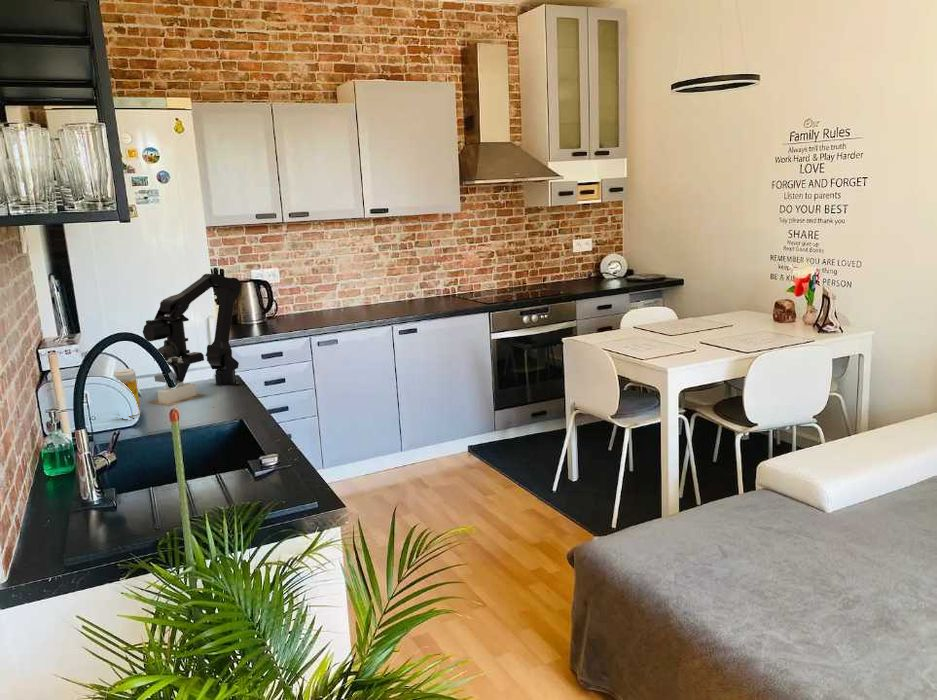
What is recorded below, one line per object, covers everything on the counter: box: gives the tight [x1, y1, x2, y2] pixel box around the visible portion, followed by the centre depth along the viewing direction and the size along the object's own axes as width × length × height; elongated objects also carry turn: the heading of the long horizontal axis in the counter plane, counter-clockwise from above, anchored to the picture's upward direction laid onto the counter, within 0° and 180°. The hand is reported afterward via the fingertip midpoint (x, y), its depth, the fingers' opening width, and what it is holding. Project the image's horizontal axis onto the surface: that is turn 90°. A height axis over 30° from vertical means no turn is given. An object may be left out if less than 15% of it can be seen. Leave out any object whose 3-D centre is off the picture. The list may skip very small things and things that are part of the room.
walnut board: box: [145, 393, 206, 407], centre depth 248 cm, size 15×12×1 cm
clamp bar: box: [153, 373, 181, 385], centre depth 254 cm, size 2×11×2 cm, turn 61°
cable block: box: [156, 382, 197, 404], centre depth 247 cm, size 12×4×4 cm, turn 151°
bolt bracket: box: [165, 372, 185, 389], centre depth 253 cm, size 6×2×7 cm, turn 151°
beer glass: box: [113, 368, 142, 414], centre depth 229 cm, size 6×6×15 cm
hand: (181, 381), depth 251 cm, fingers closed
